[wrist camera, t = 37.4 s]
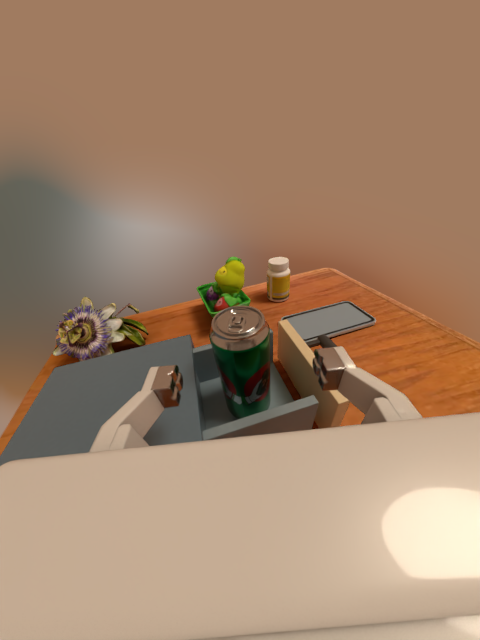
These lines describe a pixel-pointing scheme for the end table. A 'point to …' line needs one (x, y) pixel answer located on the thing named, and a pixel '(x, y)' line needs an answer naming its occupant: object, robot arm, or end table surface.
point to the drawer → (271, 392)
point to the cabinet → (106, 402)
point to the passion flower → (95, 331)
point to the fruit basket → (225, 288)
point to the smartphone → (329, 320)
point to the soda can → (242, 359)
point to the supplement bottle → (278, 279)
